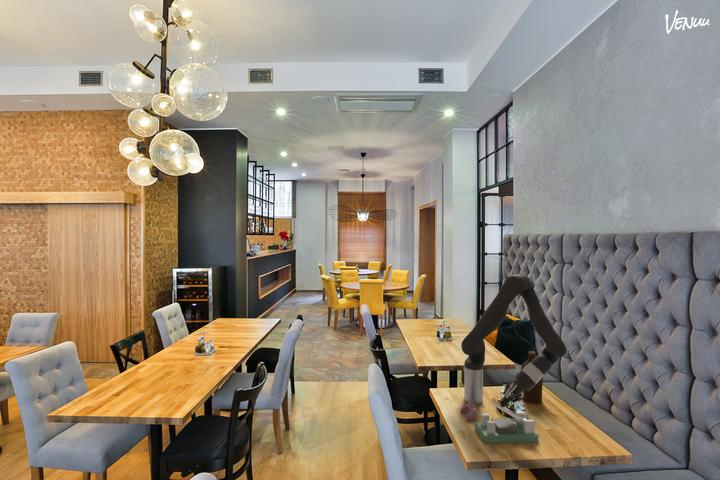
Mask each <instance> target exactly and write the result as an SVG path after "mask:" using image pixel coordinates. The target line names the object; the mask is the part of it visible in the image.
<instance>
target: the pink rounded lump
mask: <svg viewBox="0 0 720 480" xmlns="http://www.w3.org/2000/svg"><path fill="white" fill-rule="evenodd" d="M459 410H460V413H466V416H465V421H467V422H468V421H469V422H470V421H472V420H473V419H474V418H475V417H477V416H478V409H477V407H476V404H472V403H469V402H467V403H465V404H464V405H463V406H462V407H460V409H459Z"/></svg>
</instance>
